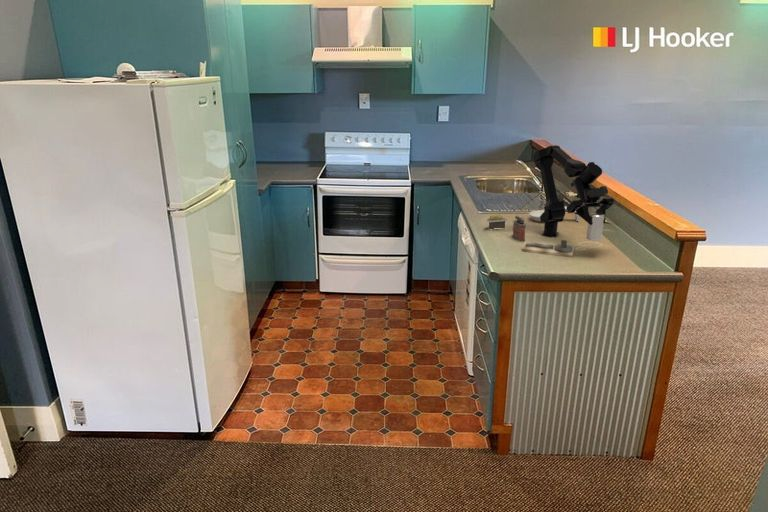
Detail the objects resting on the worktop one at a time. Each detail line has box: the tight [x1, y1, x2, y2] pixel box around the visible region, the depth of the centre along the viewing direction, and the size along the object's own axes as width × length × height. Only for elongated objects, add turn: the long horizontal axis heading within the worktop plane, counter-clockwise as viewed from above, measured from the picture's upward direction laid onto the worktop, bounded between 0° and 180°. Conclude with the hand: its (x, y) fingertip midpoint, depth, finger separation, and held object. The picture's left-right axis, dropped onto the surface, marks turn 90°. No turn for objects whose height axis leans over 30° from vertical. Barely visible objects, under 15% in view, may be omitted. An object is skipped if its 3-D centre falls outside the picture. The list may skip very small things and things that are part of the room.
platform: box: [486, 214, 509, 230], centre depth 255 cm, size 12×18×7 cm, turn 103°
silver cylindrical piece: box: [585, 212, 606, 242], centre depth 216 cm, size 6×6×10 cm
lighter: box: [511, 215, 527, 243], centre depth 240 cm, size 8×3×10 cm, turn 17°
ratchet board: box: [520, 239, 575, 258], centre depth 226 cm, size 20×10×5 cm, turn 67°
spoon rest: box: [529, 205, 580, 222], centre depth 268 cm, size 24×12×7 cm, turn 85°
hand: (597, 223), depth 215 cm, fingers closed on silver cylindrical piece, 5 cm apart
